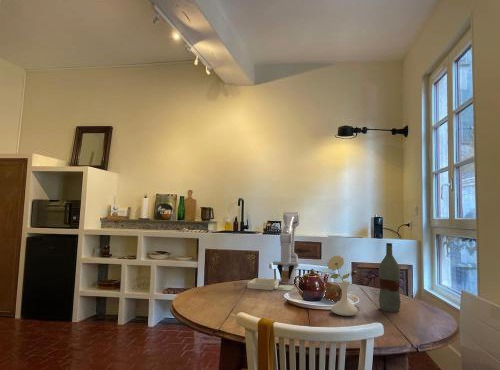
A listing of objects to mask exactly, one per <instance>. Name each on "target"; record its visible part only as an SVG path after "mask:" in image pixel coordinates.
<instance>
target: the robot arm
mask: <svg viewBox="0 0 500 370" xmlns="http://www.w3.org/2000/svg"><path fill="white" fill-rule="evenodd" d="M282 216H283V218H282V220H283V224H284V226H283V228H282V233H281V234H280V235H279V236H280V237H279V242H280V244H279V245H280V261H276V260H275V261H272V265H273V266H276V268H277V270H278V273H279V276H280V278H281V271H283V270H285V271H289V279H290V282H288V283H286V282H281V284H286V285H295V284H294V279H295V277H296V278H297V272H296V271H297V270H296V269H297V268H299V266H300V265H299V256H298V254H297V253H295V239H296V237H295V236H296V228H297V227H299V226H300V225H299V224H300V212H299V211H284V212H283V214H282Z"/></svg>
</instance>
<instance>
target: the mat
mask: <svg viewBox="0 0 500 370" xmlns="http://www.w3.org/2000/svg"><path fill="white" fill-rule="evenodd" d="M294 288H295V285H283V284H280V285H278V286H277V287H276V288H275V290H276V291H284V292H285V291H286V292H291V291H292V290H293V289H294Z"/></svg>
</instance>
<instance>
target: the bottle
mask: <svg viewBox="0 0 500 370" xmlns="http://www.w3.org/2000/svg"><path fill="white" fill-rule="evenodd" d="M385 244H386V245H385V246H386V247H385V248H386V249H385V250H386V251H385V254H386V255H385V256H384V258H383V259H382V260H381V262H380V263H379V267H378V277H379V278H378V279H379V294H378V295H379V296H378V304H379V308H380V310H381V311H384V312H389V313H397V312H399V311H400V308H401V295H400V281H401V269H400V265H399V263H398V262H397V260H396V259H395V257H394V255H393V242H386V243H385Z"/></svg>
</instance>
